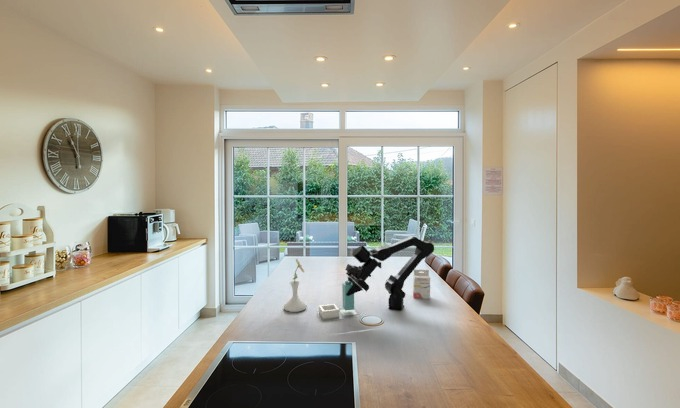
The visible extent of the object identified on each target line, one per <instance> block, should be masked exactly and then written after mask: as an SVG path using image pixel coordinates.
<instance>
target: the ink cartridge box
mask: <svg viewBox="0 0 680 408" xmlns="http://www.w3.org/2000/svg"><path fill="white" fill-rule="evenodd" d="M429 273H430V271H429V269H414V270H413V282H412V283H413V284H412V285H413V286H412V289H413V290H412V293H413V294H412V296H413V298H414V299H428V300H429V299H431V276H430V274H429Z"/></svg>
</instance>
